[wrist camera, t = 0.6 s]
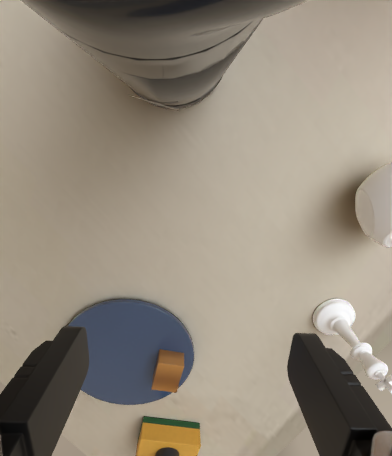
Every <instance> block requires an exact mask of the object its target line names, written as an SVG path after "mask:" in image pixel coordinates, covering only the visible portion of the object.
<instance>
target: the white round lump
mask: <svg viewBox="0 0 392 456" xmlns="http://www.w3.org/2000/svg"><path fill="white" fill-rule="evenodd" d="M355 211H356V216H357V219H358V222H359V224H360V226H361V228H362V230H363V232H364V233H365V234H366V235H367V236H368V237H369V238H371V239H372V240H374V241H375V242H377V243H379V244H380V245H382V246H385V247H387V248H390V247H391V246H392V162H391V163H388V164H385V165H384V166H382V167H380V168H379V169H377V170H376V171H374V172H373V173H372V174H370V175H369V176H368V177H367V178H366V179H365V180H364V181H363V182H362V184H361V185H360V186H359V188H358V189H357V191H356V196H355Z"/></svg>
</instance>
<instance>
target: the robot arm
mask: <svg viewBox="0 0 392 456" xmlns="http://www.w3.org/2000/svg"><path fill="white" fill-rule="evenodd" d="M21 1H22V2H23V3H25V4H26V5H27V6H28V7H30V8H31V9H32V10H33V11H35V12H36V13H37V14H38V15H40V16H41V17H42V18H43V19H45V20H46V21H47V22H49V23H50V24H51V25H52V26H54V27H55V28H56V29H57V30H59V31H60V32H61V33H62V34H64V35H65V36H66V37H67V38H69V39H70V40H71V41H73V42H74V43H75V44H76V45H78V46H79V47H80V48H82V49H83V50H84V51H86V52H87V53H88V54H89V55H91V56H92V57H93V58H94V59H96V60H97V61H98V62H99V63H101V64H102V65H103V66H104V67H106V68H107V69H108V70H109V71H111V72H112V73H113V74H114V75H116V76H117V77H118V78H119V79H121V80H122V81H123V82H124V83H126V84H127V85H128V86H129V87H130V88H131V89H132V90H133V91H134V92H135V93H136V94H137V95H139V96H140V97H141V98H138V97H135V96H132V95H130V96H131V97H135V98H138V99H141V100H145V101H147V102H149V103H151V104H153V105H155V106H158V107H162V108H167V109H174V110H177V111H179V110H178V109H180V108H186V107H189V106H192V105H194V104H196V103H198V102H200V101H201V100H203V99H204V98H205V97H207V96H208V95H209V94H210V93H211V92H212V91H213V89H214V88H215V87H216V86H217V84H218V83H219V81H220V79H221V78H222V76H223V74H224V73H225V71H226V70H227V68H228V67H229V66H230V64H231V63H232V61H233V60H234V59H235V57H236V56H237V54H238V53H239V52H240V50H241V49H242V47H243V46H244V45H245V43H246V42H247V41H248V39H249V38H250V36H251V35H252V34H253V32H254V31H255V29H256V28H257V27H258V25H259V24H260V22H261V21H262V20H263V18H266V17H269V16H272V15H274V14H277V13H280V12H283V11H285V10H288V9H290V8H292V7H295V6H297V5H300V4H302V3H304V2H306V1H308V0H21ZM142 98H143V99H142ZM88 368H89V351H88V341H87V332H86V328H85V327H69V326H64V327H63V328H62V329H61V330H60V331H59V333H58V334H57V336H56V337H55V339H54V340H53V341H45V342H44V343H42V344H41V345H40V346H39V347H37V348H36V349H35V350H33V351H32V352H31V354H30V355H29V356H28V358H27V359H26V360H25V362H24V363H23V366H22V367H20V369H19V370H18V371H17V373H16V374H15V377H14V378H12V379H11V381H10V382H9V383H8V385H7V386H6V387H5V389H4V390H3V391H2V393H1V394H0V456H51V455H52V453H53V451H54V449H55V446H56V444H57V442H58V439H59V437H60V435H61V433H62V430H63V428H64V426H65V423H66V421H67V419H68V417H69V414H70V412H71V410H72V408H73V405H74V403H75V401H76V398H77V396H78V394H79V392H80V389H81V387H82V385H83V383H84V380H85V378H86V375H87V372H88ZM287 369H288V377H289V381H290V384H291V386H292V389H293V391H294V393H295V396H296V398H297V401H298V403H299V406H300V408H301V411H302V413H303V416H304V418H305V421H306V423H307V426H308V428H309V430H310V433H311V435H312V438H313V440H314V443H315V445H316V448H317V450H318V452H319V455H320V456H392V428H391V426H390V425H389V424H388V422H387V421H386V419H385V418H384V416H383V415H382V413H381V412H380V411H379V409H378V408H377V406H376V405H375V403H374V402H373V400H372V399H371V398H370V396H369V395H368V393H367V392H366V390H365V389H364V387H363V386H361V383H360V382H359V380H358V379H357V377H356V376H355V375H353V372H352V370H351V369H350V367H349V366H348V364H347V363H346V361H345V360H344V359H343V358H342V357H341V356H339V355H338V354H337V353H336V352H335V351H334V350H332V349H330V348H325V346H324V345H323V343H322V342H321V340H320V339H319V337H318V336H317V335H316V334H307V333H295V334H294V336H293V340H292V345H291V350H290V355H289V359H288V366H287Z"/></svg>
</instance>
